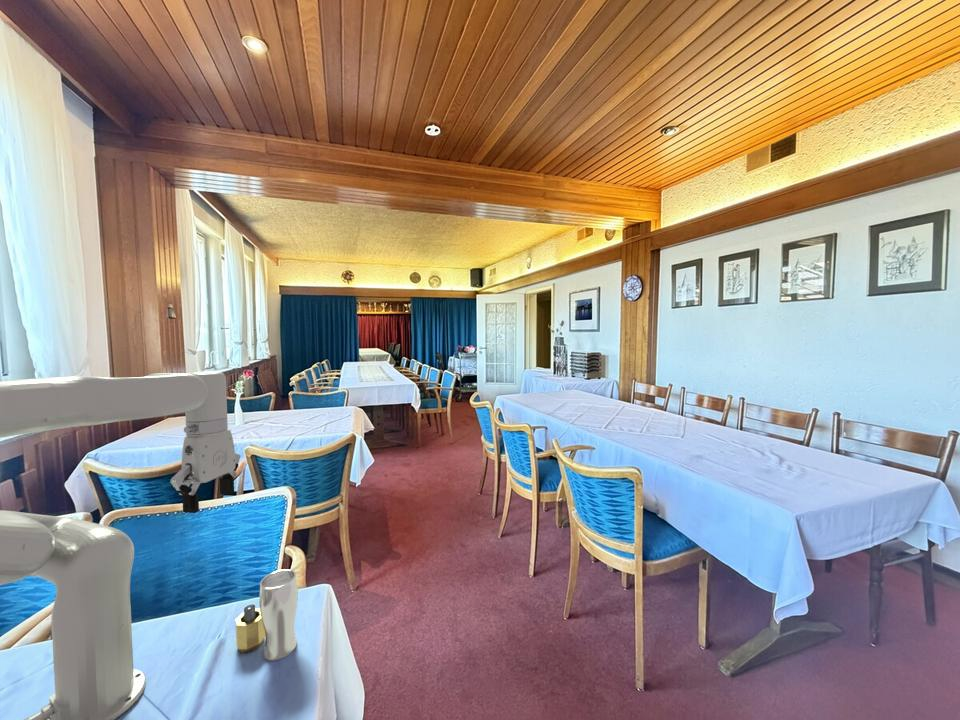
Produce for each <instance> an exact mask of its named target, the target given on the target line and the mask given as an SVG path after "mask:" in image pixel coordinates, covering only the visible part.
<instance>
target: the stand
mask: <svg viewBox="0 0 960 720" xmlns="http://www.w3.org/2000/svg"><path fill="white" fill-rule="evenodd" d="M255 608H256V605H255V604H249V605H247V606H245V607H244V608H243V612H244V623H248V622H251V621H253V620H256V618H255ZM263 643H264V639H263V640H262V641H261V642H260V643H259V644H258V645H256V646H254V647H252V648H249V649H238V648H237V651H238V653H240V654H250V653H253V652H255V651H256V650H258V649H259V648H260V647H261V646H262V645H263Z"/></svg>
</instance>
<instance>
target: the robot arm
mask: <svg viewBox="0 0 960 720" xmlns="http://www.w3.org/2000/svg"><path fill="white" fill-rule="evenodd" d="M227 395H228V394H227V378H226V375H225V373H224V372H223V371H213V370H212V371H193V372H189V373H181V372H179V373H175V372H174V373H172V372H168V373H167V372H156V373H151V374H150V373H149V374H147V375H145V376H139V377H138V376H137V377H134V376H133V377H130V376H128V377H114V376H111V377H110V376H109V377H106V376H93V375H92V376H90V375H89V376H88V375H84V376H83V375H80V376H78V375H73V376H72V375H71V376H70V375H69V376H67V375H66V376H53V377H40V378H39V377H38V378H24V379H23V378H20V379H5V380H3V379H2V380H0V439H2V438H5V437H6V438H7V437H13V436H20V435H27V434H33V433H39V432H47V431H52V430H54V431H55V430H60V429H68V428H75V427H87V426H96V425H103V424H110V423H116V422H117V423H118V422H124V421H125V422H126V421H135V420H142V419H143V420H144V419H152V418H159V417H165V416H173V415H178V414H184V413H185V427H184V428H183V432H184V433H185V435H186V436H184V439H183V445H182V452H181V469H180V470H179V471H177V473H175V475H174V476H172V477H171V479H170V481H169V482H170V484H171V486H172V487H173V488H174V491H176V492H177V493H178V494H179V495H180V496H181V497H182V512H183V513H187V514H196V513H198V512H199V510H200V503H199V502H200V501H199V493H196V492H197V490H198V489H199V487H200V485H201V484H203V483H204V484H205V483H209V482H211V481H213V480H216V479H218V478H219V494H221V495H227V496H228V495H230V496H232V495H233V494H235V477H236V475H237V469H238V468H239V462H240V460H241V454H239V453H236V451H235V450H236V449H235V443H234V438H233V434H232V431H231V429H229V428H228V426H229V425H228V423H229V422H228V400H227ZM191 484H192V485H191ZM190 486H191V487H190ZM134 558H135V546H134V543H133V541H132V539H131V538H130V537H129V536H128V534H127V533H125V532H123V531H122V530H121V529H118V528H115V527H112V526H109V525H104V524H101V523H96V522H91V521H88V520H84V519H80V518H73V517H72V518H71V517H62V516H54V515H46V514H37V513H29V512H21V511H14V510H1V509H0V586H3V585H7V584H10V583H15V582H18V581H21V580H23V579H25V578H26V577H27V578H28V577H36V578H40V579H43V580H46V581H47V582H49V583H50V584H51V583H52V584H53V585H54V586H55V590H56V591H55V599H54V602H53V607H52V611H51V638H52V640H51V641H52V656H53V673H54V674H53V675H54V693H53V694H52V695H50V696H49V697H48V701H49V703H48V704H46V705H45V706H43V707H40V711H38V712H36V713H34V714H32V715H31V716H29V717H26V718H25V719H23V720H116V719H118V718H119V717H120V716H121V715H123V714H124V713H126V711H128V710H129V709H130V708H131V707H132V706H133V705H134V704H135V702H137V700H138V699H139V698H140V697H141V695H142V694H143V692H144V690H145V688H146V684H147V682H146V676H145V673H144V672H142V670H140V669H135V668H134V653H133V652H134V651H133V649H134V648H133V627H132V626H133V625H132V608H131V575H132V569H133V564H134Z"/></svg>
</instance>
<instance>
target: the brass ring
mask: <svg viewBox="0 0 960 720" xmlns="http://www.w3.org/2000/svg"><path fill="white" fill-rule="evenodd" d="M255 618H256V620H253V621H251V622H248V623H244V611H243V612H242V613H240V615H239V616H237V617H236V618H235V640H236V642H235V643H236V647H237V650H238V649H249V648H252V647H254V646H256V645H258V644H259V643H260V642H261V641H262V640H263V641H264V639H266V637H265V631H264V627H263V623H262V619H261V614H260V607H258V608H256V607H255Z"/></svg>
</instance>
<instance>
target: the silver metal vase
mask: <svg viewBox="0 0 960 720" xmlns="http://www.w3.org/2000/svg"><path fill="white" fill-rule="evenodd" d="M297 583H298V581H297V573H296V571H295V570H293V569H285V568H284V569H279V570H276V571H275V570H274V571H273V572H271V573H268V574H266V576H264V577H263V578H262V579H261V581H260V582H259V585H260V586H259V608H260V614H261V619H262V623H263V627H264V631H265V640H264V641H265V643H264V649H263V657H264V659H266V660H267V661H272V662H273V661H278V660H283V659H284V658H286V657H288V656H289V655H290V654H292V653H293V652H294V651H295V649H296V647H297V644H298V643H297V637H296V633H295V621H296V616H297V615H296V613H297V608H298V599H299V596H298V584H297Z"/></svg>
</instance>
